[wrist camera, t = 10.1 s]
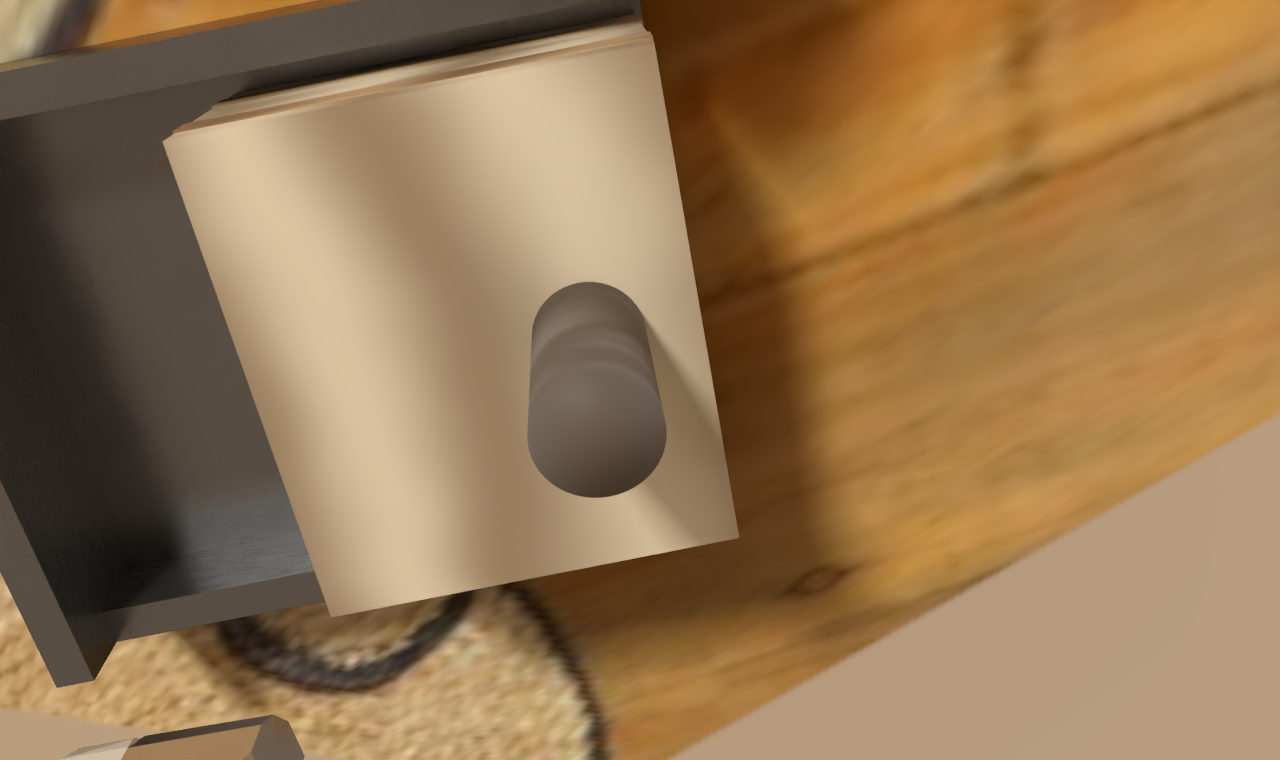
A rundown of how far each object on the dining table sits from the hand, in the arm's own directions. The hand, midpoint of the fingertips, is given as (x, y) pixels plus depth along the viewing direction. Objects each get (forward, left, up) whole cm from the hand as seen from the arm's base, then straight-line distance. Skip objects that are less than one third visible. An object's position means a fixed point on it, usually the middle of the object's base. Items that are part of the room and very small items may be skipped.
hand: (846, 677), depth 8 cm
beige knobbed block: (+5, +5, -28) cm, 29 cm away
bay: (+10, +5, -30) cm, 32 cm away
